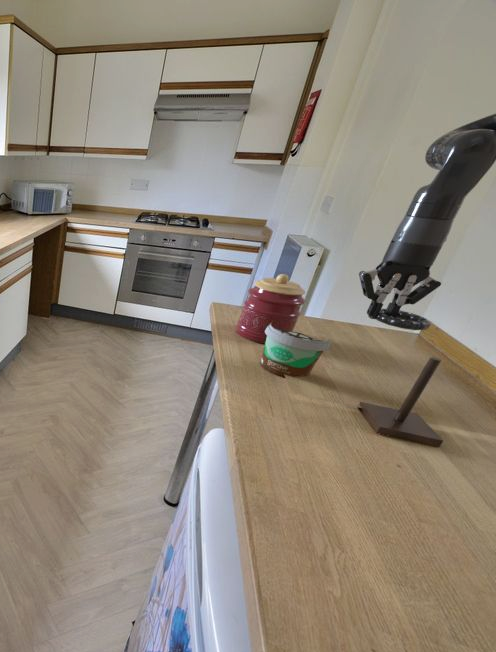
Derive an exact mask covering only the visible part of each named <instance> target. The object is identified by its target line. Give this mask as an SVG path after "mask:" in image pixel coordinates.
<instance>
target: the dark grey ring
mask: <svg viewBox="0 0 496 652" xmlns="http://www.w3.org/2000/svg"><path fill="white" fill-rule="evenodd" d="M386 309H387V308H381V310H380V312H379V314H378V316H377V318H376V319H375V320H376V321H377V322H379V323H382V324H385V325H388V326H391V327H394V328H399V329H404V330H410V331H426V330H428V329H429V328H430V327H431V325H432V322H431V320H429V319H427V318H426V317H425V316H422V315H420V314H416V313H413V312H409V311H405V310H401V309H400V310H399V312H398V314H397V316H396V318H395V317H392V316H389V315H386V314H384V313H385V311H386Z"/></svg>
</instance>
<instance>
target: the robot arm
mask: <svg viewBox="0 0 496 652" xmlns="http://www.w3.org/2000/svg"><path fill="white" fill-rule="evenodd" d="M424 159H425V163H426V165H427V166H428V167H430V169H433V170H436V171H438V172H437V174H436V175H435V177H434V178H433V180H432V181H431V182H430V183H429V184H426V185H423V186H420V187H419V188H418V189H417V190H416V192H415V194H414V195H413V197H412V199H411V202H410V203H409V205H408V208H407V210H406V211H405V215H403V218H402V220H401V221H400V222H399V224H398V226H397V228H396V230H395V232H394V234H393V236H392V237H391V240H390V242H389V244H388V246H387V248H386V251H385V253H384V256H383V257H382V261H381V262H380V263H379V264H378V265H377V266H376V267H375V269H371V270H367V271H366V270H360V271H359V273H358V275H359V276H358V277H359V280H360V286H361V289H362V294H363V296H365V297H366V298H368V299H369V300H371V302H370V304H369V306H368V308H367V310H366V314H367V316H368V318H369V319H370V320H376V318H377V316H378V314H379V312H380V310H381V309H383V306H384V302H385V300H386V298H387V297H388V295H389V294H391V293H392V291H393V289H394V291H393V292H394V293H393V295H392V298H391V302H389V303H388V305H387V307H386V308H385V309H386V311H385V313H384V314H386V315H389V316H392V317H395V318H396V316H397V314H398V312H399V310H401V308H402V306H404V305H416V304H417V303H418V302H419V301H421V300H422V299H424V298H425V297H427V296H428V295H429V294H431V293H432V292H434V291H435V290H436V289H438V288H440V286H442V282H441V281H439V280H437V279H435V278H433V277H431V276H430V275H431V271H430V270H431V267H432V266H433V265H434V263H435V261H436V259H437V257H438V256H439V254H440V252H441V250H442V247H443V246H444V244H445V242H447V239H448V237H449V235H450V232H451V229H452V226H453V224H454V221H455V219H456V217H457V216H458V214H459V211H460V209H461V208H462V205H463V203H464V201H465V199H466V197H467V196H469V194H470V193H471V192H472V191H473V190H474V188H476V186H477V185H478V184H479V183H480V181H481V180H482V179H483V178H484V177H485V176H486V175H487V173H488V172H489V171H490V170H491V168H492V167H493V166H494V164H495V163H496V112H495V113H493V114H490V115H487V116H485V117H482V118H480V119H477V120H474V121H471V122H468V123H466V124H463V125H462V126H459V127H457V128H454V129H453V130H452V129H451V130H450V131H448V132H446V133H444V134H443V135H441V136H439V137H438V138H437V139H436V140H434V141H433V142H432V143H431V144H430V146H429V147H428V148H427V150H426V152H425V155H424ZM376 277H377V279H378V281H379V282H378V284H377V285H376V289H374V284H373V281H374V280H375V279H376ZM418 284H420V285H418ZM417 285H418V286H417ZM415 286H417V287H416V288H415V289H413V287H415ZM412 289H413V290H412Z"/></svg>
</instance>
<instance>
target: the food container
mask: <svg viewBox="0 0 496 652" xmlns="http://www.w3.org/2000/svg"><path fill="white" fill-rule="evenodd" d="M265 334H266V335H267V338H266V342H265V344H264V347H263V351H262V354H261V358H260V367H261V368H263V370H265V371H266V372H268V373H270V374H271V375H274V376H277V377H280V378H284V379H286V376H290V377H296V378H297V377H298V378H301V377H303V378H304V377H307V376H309V375H310V374H311V372H312V370H313V369H314V367H315V366H316V364H317V362H318V361H319V360H320V357H321V356H322V355H323V353H324V352H325V351H328V350H330V349H331V343H332V341H331V338H328V339H327V340H321V339H318V338H313V337H311V336H308V335H306V334H303V333H301V332H297V331H293V332H292V331H286V330H281V329H278V328H274V327H272V326H271V324H270V325H268V327H267V328H266V330H265Z"/></svg>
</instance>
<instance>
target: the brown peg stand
mask: <svg viewBox="0 0 496 652" xmlns="http://www.w3.org/2000/svg"><path fill="white" fill-rule="evenodd" d="M441 362H442V359H441V358H439V357H435V356H430V357H429V359H428V361H427V362H426V364H425V365H424V367H423V369H422V371H421V372H420V374H419V376H418V377H417V378H416V381H414V382H415V383H414V384H413V385H412V387H411V389H410V391H409V392H408V394H407V396H406V397H405V399H404V401H403V402H402V404H401V406H400V407H399V409H397V408H393V407H390V406H383V405H378V404H375V403H368V402H363V401H360V402H359V404H358V405H359V407H358V406H357V407H356V408H357V409H358V410H359V412H360V413H361V415H362V416H363V417H364V419H365V420H366V421H367V424H369V426H370V427H371V428H372V430H373V431H374V430H375V431H374V433H376V434H377V433H380V434H379V435H382V434H384V435H383V436H386V435H389V436H388V437H391V436H393V437H392V438H395V437H396V439H400V440H404V439H405V441H408V440H409V441H408V442H413V441H414V443H417V442H418V444H423V445H427V446H431V447H435V448H440V447H441V445H442V444H443V442H444V440H443V439H442V437H440V435H439V434H437V432H436V431H435V430H434V429H433V428H432V427H431V426H430V425H429V424H428V423H427V422H426V421H425V420H424V419H423V418H422V416H421V415H419V414H418V413H417V412H414V411H413V412H412V410H413V408H414V407H415V405H416V403H417V402H418V400H419V399H420V397H421V395H422V394H423V391H424V390H425V388H426V387H427V385H428V384H429V382H430V380H431V378H432V377H433V376H434V374H435V372H436V370H437V369H438V367H439V366H440V364H441Z"/></svg>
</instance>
